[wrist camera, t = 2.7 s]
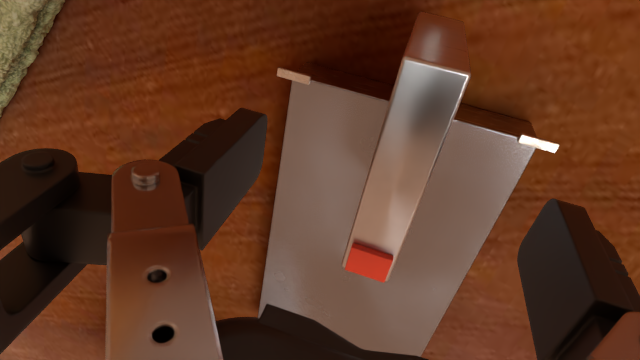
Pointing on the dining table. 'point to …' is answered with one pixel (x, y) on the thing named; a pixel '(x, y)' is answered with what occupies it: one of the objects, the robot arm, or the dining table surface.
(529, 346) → the dining table surface
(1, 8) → the washcloth
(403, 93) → the spout
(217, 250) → the dining table surface
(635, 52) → the dining table surface
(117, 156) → the dining table surface
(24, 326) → the robot arm
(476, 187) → the base
